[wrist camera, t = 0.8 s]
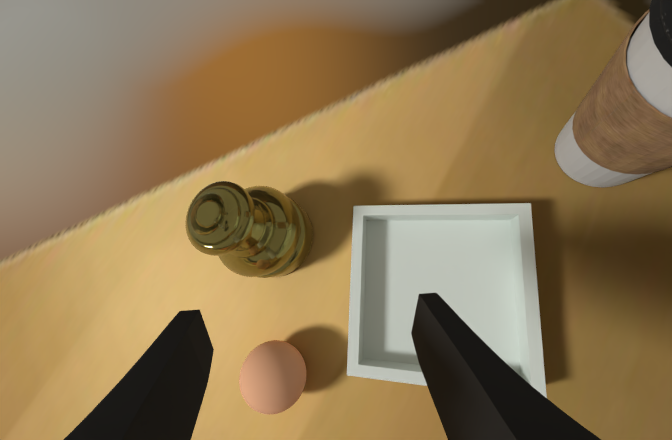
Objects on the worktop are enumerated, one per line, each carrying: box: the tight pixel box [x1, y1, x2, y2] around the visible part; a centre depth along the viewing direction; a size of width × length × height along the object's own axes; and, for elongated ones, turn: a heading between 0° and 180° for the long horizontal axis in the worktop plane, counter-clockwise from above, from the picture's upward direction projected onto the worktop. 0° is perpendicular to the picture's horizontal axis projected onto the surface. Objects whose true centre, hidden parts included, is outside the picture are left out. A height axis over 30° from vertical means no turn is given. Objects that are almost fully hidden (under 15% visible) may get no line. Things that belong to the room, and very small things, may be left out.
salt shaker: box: [186, 181, 313, 278], centre depth 24 cm, size 7×7×10 cm
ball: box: [239, 340, 306, 414], centre depth 23 cm, size 5×5×5 cm
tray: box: [347, 203, 547, 398], centre depth 23 cm, size 13×13×2 cm
